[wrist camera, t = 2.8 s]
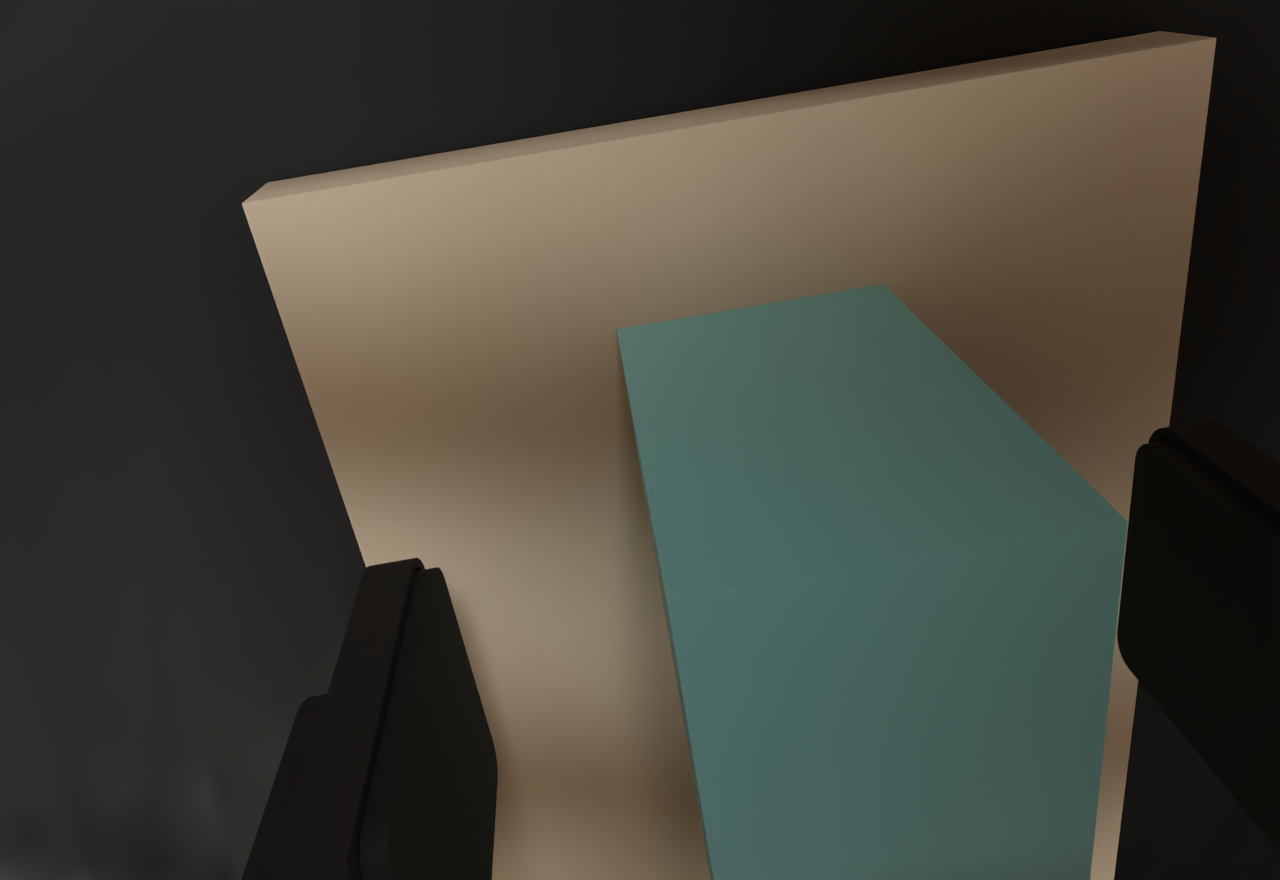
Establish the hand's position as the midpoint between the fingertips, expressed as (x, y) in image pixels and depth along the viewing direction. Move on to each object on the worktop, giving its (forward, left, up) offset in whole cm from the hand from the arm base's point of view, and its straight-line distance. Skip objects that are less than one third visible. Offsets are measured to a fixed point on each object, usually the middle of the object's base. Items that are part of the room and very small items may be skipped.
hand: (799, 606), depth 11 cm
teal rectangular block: (+4, 0, -1) cm, 4 cm away
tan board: (+4, 0, -2) cm, 5 cm away
